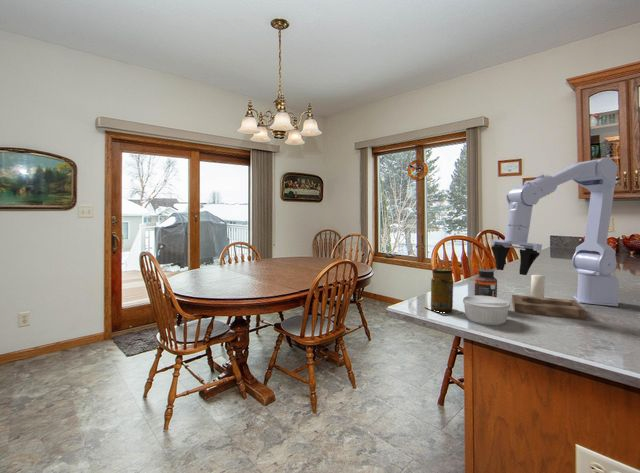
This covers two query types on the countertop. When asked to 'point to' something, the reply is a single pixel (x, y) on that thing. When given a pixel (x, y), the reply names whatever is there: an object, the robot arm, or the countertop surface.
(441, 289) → the condiment
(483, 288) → the supplement bottle
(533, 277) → the cream peg
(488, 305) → the ramekin
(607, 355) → the countertop surface
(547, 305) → the keyhole board
